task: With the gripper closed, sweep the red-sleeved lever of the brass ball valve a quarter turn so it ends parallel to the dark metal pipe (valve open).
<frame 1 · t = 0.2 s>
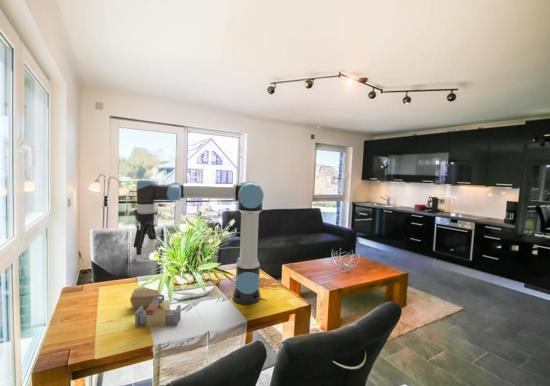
hand: (145, 256, 132), 28 cm above the table, fingers open, 13 cm apart
low-poly potato: (145, 307, 140), on the table
valve: (158, 322, 126), on the table
lever: (155, 304, 120), point 11 cm above the table, hinge at 90.0°
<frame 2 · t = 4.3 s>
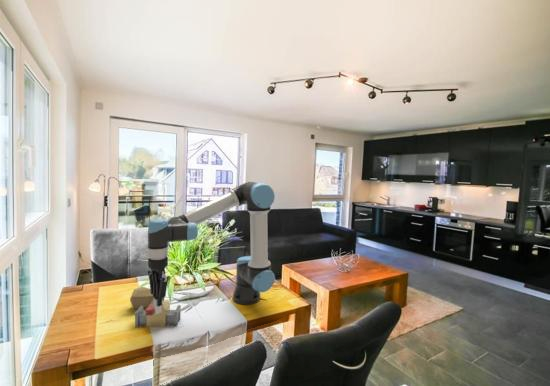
hand: (157, 312, 115), 10 cm above the table, fingers closed
lever: (155, 304, 120), point 11 cm above the table, hinge at 89.6°, touching gripper
everything else where it was.
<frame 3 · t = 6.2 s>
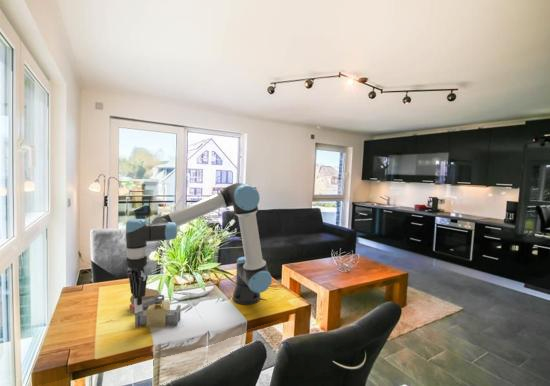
hand: (138, 311, 116), 10 cm above the table, fingers closed
lever: (148, 302, 121), point 11 cm above the table, hinge at 43.8°, touching gripper
everything else where it was.
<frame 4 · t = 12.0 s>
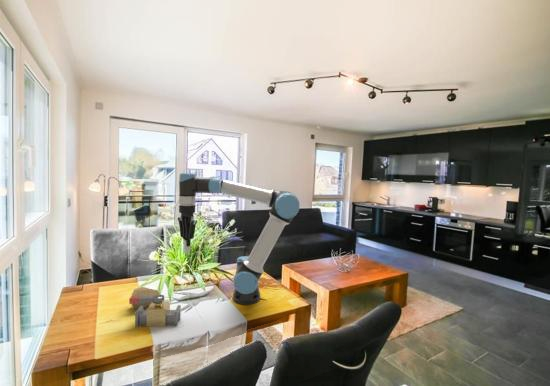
hand: (186, 252, 136), 29 cm above the table, fingers closed
lever: (147, 299, 124), point 11 cm above the table, hinge at 1.4°
everything else where it was.
at the end: lever at +1° (first picture: +90°) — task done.
